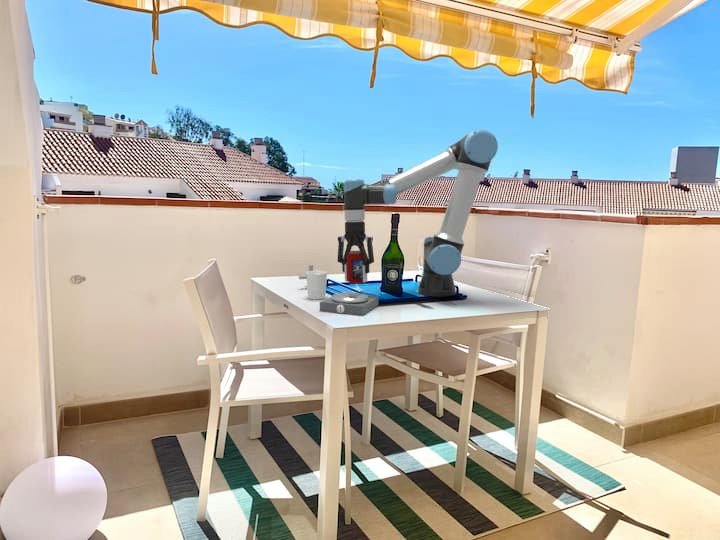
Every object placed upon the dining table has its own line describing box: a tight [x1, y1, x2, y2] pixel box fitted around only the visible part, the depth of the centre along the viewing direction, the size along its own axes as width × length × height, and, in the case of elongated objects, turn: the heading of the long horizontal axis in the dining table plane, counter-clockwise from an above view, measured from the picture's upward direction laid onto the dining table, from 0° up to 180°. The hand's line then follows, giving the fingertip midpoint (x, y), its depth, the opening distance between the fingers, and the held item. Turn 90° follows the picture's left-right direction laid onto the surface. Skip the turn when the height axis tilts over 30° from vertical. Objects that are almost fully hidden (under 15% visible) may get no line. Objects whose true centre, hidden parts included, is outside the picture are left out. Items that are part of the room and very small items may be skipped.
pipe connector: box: [298, 264, 314, 280], centre depth 209 cm, size 10×10×10 cm
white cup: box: [305, 270, 328, 301], centre depth 191 cm, size 8×8×10 cm
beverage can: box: [346, 250, 364, 285], centre depth 189 cm, size 7×7×12 cm
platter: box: [331, 292, 368, 304], centre depth 176 cm, size 13×13×1 cm
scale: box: [319, 294, 379, 316], centre depth 176 cm, size 16×17×3 cm
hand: (356, 281), depth 190 cm, fingers closed on beverage can, 7 cm apart
